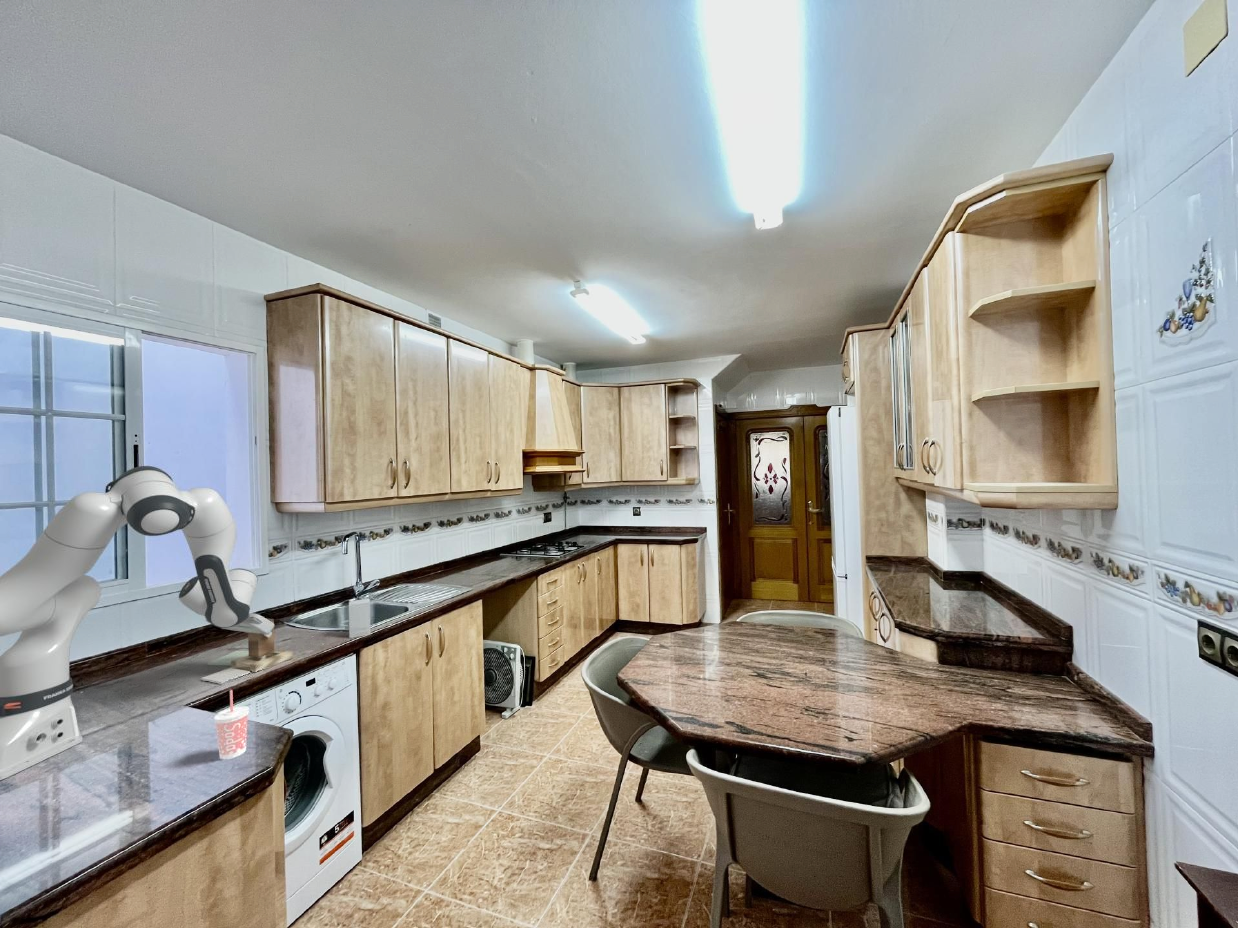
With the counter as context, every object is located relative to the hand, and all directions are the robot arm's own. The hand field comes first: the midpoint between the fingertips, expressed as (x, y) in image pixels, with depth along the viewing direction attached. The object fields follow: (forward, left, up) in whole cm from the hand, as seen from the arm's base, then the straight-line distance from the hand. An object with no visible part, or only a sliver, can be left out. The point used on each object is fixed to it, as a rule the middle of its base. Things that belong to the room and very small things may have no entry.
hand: (263, 634), depth 162 cm
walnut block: (-1, 0, -6) cm, 6 cm away
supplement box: (+24, -21, -10) cm, 34 cm away
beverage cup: (-58, -26, -10) cm, 64 cm away
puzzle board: (-5, +2, -9) cm, 11 cm away
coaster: (+6, +12, -9) cm, 17 cm away
